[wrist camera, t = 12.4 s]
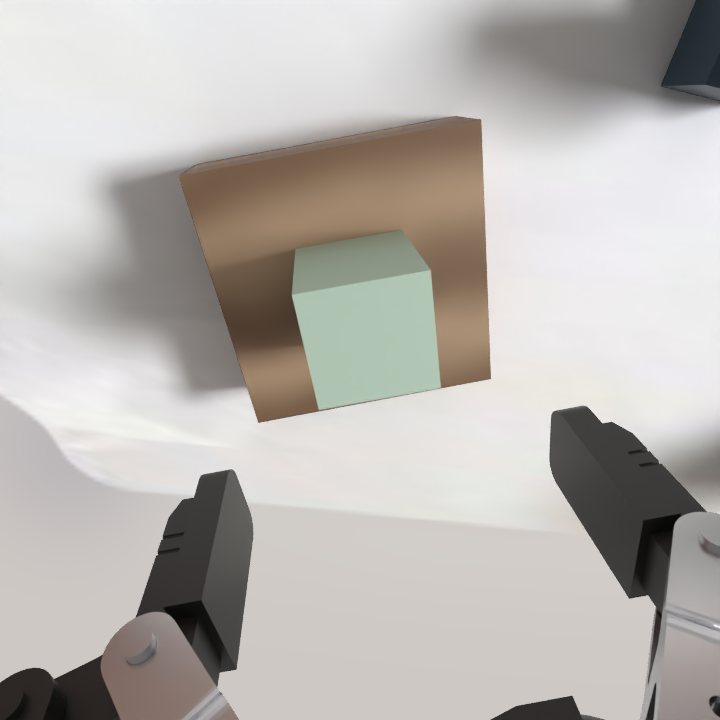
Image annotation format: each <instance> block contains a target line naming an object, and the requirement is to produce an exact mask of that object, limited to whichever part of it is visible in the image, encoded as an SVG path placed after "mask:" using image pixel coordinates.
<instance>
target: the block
mask: <svg viewBox="0 0 720 720" xmlns="http://www.w3.org/2000/svg"><path fill="white" fill-rule="evenodd" d="M292 298H293V302H294V307H295V311H296V315H297V319H298V324H299V328H300V332H301V336H302V341H303V345H304V349H305V353H306V358H307V362H308V366H309V370H310V375H311V379H312V383H313V387H314V392H315V396H316V400H317V404H318V409H319V410H323V409H328V408H334V407H339V406H345V405H350V404H356V403H361V402H367V401H372V400H378V399H383V398H389V397H394V396H400V395H405V394H411V393H416V392H422V391H427V390H433V389H438V388H441V383H440V371H439V360H438V348H437V337H436V325H435V313H434V302H433V290H432V279H431V270H430V268H429V267H428V265H427V264H426V263H425V261H424V260H423V258H422V257H421V256H420V254H419V253H418V251H417V250H416V249H415V247H414V246H413V244H412V243H411V242H410V240H409V239H408V237H407V236H406V235H405V233H404V232H403V230H398V231H393V232H387V233H381V234H376V235H370V236H365V237H359V238H353V239H348V240H342V241H337V242H331V243H325V244H320V245H314V246H309V247H303V248H297V249H295V261H294V274H293V286H292Z"/></svg>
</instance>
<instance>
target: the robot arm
mask: <svg viewBox="0 0 720 720" xmlns="http://www.w3.org/2000/svg"><path fill="white" fill-rule="evenodd" d="M550 467H551V471H552V474H553V477H554V479H555V481H556V483H557V485H558V486H559V488H560V490H561V491H562V493H563V494H564V496H565V498H566V499H567V501H568V502H569V504H570V506H571V507H572V509H573V510H574V512H575V513H576V515H577V517H578V518H579V520H580V521H581V523H582V525H583V526H584V528H585V529H586V531H587V532H588V534H589V536H590V537H591V539H592V540H593V542H594V544H595V545H596V547H597V548H598V550H599V551H600V553H601V555H602V556H603V558H604V559H605V561H606V563H607V564H608V566H609V567H610V569H611V571H612V572H613V574H614V575H615V577H616V578H617V580H618V581H619V583H620V585H621V586H622V588H623V590H624V591H625V593H626V594H627V596H628V597H629V598H635V597H641V596H646V595H648V596H649V597H650V599H651V600H652V601H653V603H654V604H655V606H656V609H655V614H654V620H653V629H652V637H651V645H650V653H649V662H648V670H647V677H646V685H645V693H644V700H643V707H642V713H641V718H640V720H720V514H715V513H711V512H707V511H705V510H704V508H703V507H702V506H701V505H700V504H699V503H698V502H697V501H696V500H695V499H694V498H693V497H692V496H691V495H690V494H689V493H688V492H687V490H686V489H685V488H684V487H683V486H682V485H681V484H680V483H679V482H678V481H677V480H676V479H675V478H674V477H673V476H672V475H671V474H670V472H669V471H668V470H667V469H666V468H665V467H664V466H663V465H662V464H659V462H658V460H657V459H656V458H655V457H654V456H653V455H652V453H651V452H650V451H649V452H648V451H647V448H646V447H645V446H644V445H643V444H642V443H641V442H640V441H639V440H638V439H637V438H636V437H635V435H634V434H633V433H631V432H629V431H627V430H626V429H624V428H622V427H620V426H618V425H617V424H615V423H613V422H608V423H603V424H602V423H601V421H600V420H599V419H598V418H597V417H596V416H595V415H594V414H593V412H592V411H591V410H590V409H589V408H588V407H586V406H579V407H574V408H568V409H563V410H557V411H554V412H553V413H552V416H551V433H550ZM252 542H253V523H252V518H251V514H250V511H249V508H248V505H247V502H246V500H245V497H244V494H243V492H242V489H241V486H240V484H239V481H238V478H237V476H236V473H235V472H234V470H232V469H231V470H225V471H220V472H215V473H209V474H204V475H202V476H201V477H200V479H199V482H198V486H197V489H196V493H195V496H194V498H189V499H184V500H182V501H181V503H180V504H179V505H178V506H177V508H176V509H175V510H174V511H173V513H172V514H171V515H170V517H169V519H168V522H167V525H166V528H165V531H164V534H163V540H161V543H160V546H159V549H158V555H157V556H156V558H155V562H154V564H153V567H152V570H151V573H150V576H149V579H148V582H147V585H146V588H145V591H144V595H143V597H142V600H141V604H140V607H139V610H138V613H137V615H136V618H134V619H133V620H131V621H130V622H128V623H127V624H125V625H124V626H123V627H122V628H121V629H120V630H119V631H118V632H117V633H116V634H115V635H114V636H113V637H112V639H111V640H110V642H109V643H108V645H107V647H106V649H105V651H104V653H103V655H101V656H100V657H98V658H96V659H94V660H92V661H90V662H88V663H86V664H84V665H82V666H80V667H78V668H76V669H74V670H72V671H70V672H68V673H66V674H64V675H62V676H60V677H58V678H56V679H53V677H52V676H51V675H50V674H49V673H48V672H47V671H45V670H44V669H40V668H30V669H26V670H23V671H20V672H17V673H15V674H13V675H11V676H10V677H8V678H6V679H5V680H3V681H2V682H1V683H0V720H239V719H238V717H237V716H236V714H235V713H234V711H233V710H232V708H231V707H230V705H229V703H228V702H227V700H226V699H225V697H224V696H223V694H222V693H220V691H219V690H218V688H217V685H218V679H219V673H220V672H225V671H231V670H236V669H237V661H238V653H239V645H240V637H241V629H242V622H243V613H244V606H245V597H246V590H247V582H248V573H249V565H250V558H251V550H252ZM491 720H604V719H600V718H596V717H592V716H588V715H580V712H579V710H578V708H577V706H576V703H575V701H574V699H573V697H572V696H569V697H563V698H558V699H552V700H547V701H541V702H536V703H531V704H525V705H520V706H516V707H514V708H512V709H510V710H508V711H506V712H504V713H502V714H501V715H499V716H497V717H495V718H493V719H491Z"/></svg>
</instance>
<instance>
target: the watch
mask: <svg viewBox="0 0 720 720" xmlns="http://www.w3.org/2000/svg"><path fill="white" fill-rule="evenodd" d="M661 86H662V87H666V88H670V89H674V90H678V91H682V92H686V93H690V94H694V95H698V96H702V97H706V98H710V99H714V100H718V101H720V0H696V2H695V5H694V7H693V9H692V12H691V14H690V17H689V19H688V22H687V24H686V26H685V29H684V31H683V34H682V36H681V38H680V41H679V43H678V46H677V48H676V51H675V53H674V55H673V58H672V60H671V63H670V65H669V67H668V70H667V72H666V75H665V77H664V80H663V82H662V84H661Z"/></svg>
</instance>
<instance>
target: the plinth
mask: <svg viewBox="0 0 720 720" xmlns="http://www.w3.org/2000/svg"><path fill="white" fill-rule="evenodd" d="M179 178H180V181H181V185H182V188H183V191H184V194H185V197H186V200H187V203H188V206H189V209H190V212H191V215H192V219H193V222H194V225H195V228H196V231H197V234H198V237H199V240H200V243H201V246H202V249H203V253H204V256H205V259H206V262H207V265H208V268H209V271H210V274H211V277H212V280H213V284H214V287H215V290H216V293H217V296H218V299H219V302H220V305H221V308H222V311H223V314H224V318H225V321H226V324H227V327H228V330H229V333H230V336H231V339H232V342H233V345H234V348H235V352H236V355H237V358H238V361H239V364H240V367H241V370H242V373H243V376H244V379H245V383H246V386H247V389H248V392H249V395H250V398H251V401H252V404H253V407H254V410H255V413H256V417H257V420H258V423H260V422H265V421H270V420H276V419H281V418H286V417H291V416H297V415H302V414H307V413H313V412H318V411H323V410H329V409H334V408H339V407H344V406H339V407H334V408H328V409H323V410H319V409H318V404H317V400H316V396H315V392H314V387H313V383H312V379H311V375H310V370H309V366H308V362H307V358H306V353H305V349H304V345H303V341H302V336H301V332H300V328H299V324H298V319H297V315H296V311H295V307H294V302H293V298H292V286H293V274H294V261H295V249H297V248H303V247H309V246H314V245H320V244H325V243H331V242H337V241H342V240H348V239H353V238H359V237H365V236H370V235H376V234H381V233H387V232H393V231H398V230H403V232H404V233H405V235H406V236H407V237H408V239H409V240H410V242H411V243H412V244H413V246H414V247H415V249H416V250H417V251H418V253H419V254H420V256H421V257H422V258H423V260H424V261H425V263H426V264H427V265H428V267H429V268H430V270H431V279H432V290H433V302H434V313H435V325H436V337H437V348H438V360H439V371H440V383H441V388H445V387H450V386H456V385H461V384H466V383H472V382H477V381H482V380H488V379H491V370H490V344H489V317H488V290H487V263H486V237H485V210H484V183H483V156H482V130H481V120H480V119H473V118H465V117H457V116H455V117H450V118H444V119H439V120H434V121H428V122H423V123H417V124H412V125H407V126H401V127H396V128H390V129H385V130H380V131H374V132H369V133H364V134H358V135H353V136H347V137H342V138H337V139H331V140H326V141H320V142H315V143H310V144H304V145H299V146H293V147H288V148H283V149H277V150H272V151H267V152H261V153H256V154H250V155H245V156H240V157H234V158H229V159H223V160H218V161H213V162H207V163H202V164H197V165H195V166H194V167H192V168H191V169H189V170H187V171H186V172H184V173H182V174H181V175H179ZM438 389H440V388H438ZM433 390H435V389H433ZM427 391H429V390H427ZM422 392H424V391H422ZM416 393H419V392H416ZM411 394H413V393H411ZM405 395H408V394H405ZM400 396H403V395H400ZM394 397H397V396H394ZM389 398H392V397H389ZM383 399H387V398H383ZM378 400H382V399H378ZM372 401H376V400H372ZM367 402H371V401H367ZM361 403H366V402H361ZM356 404H360V403H356ZM350 405H355V404H350ZM350 405H345V406H350Z"/></svg>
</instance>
